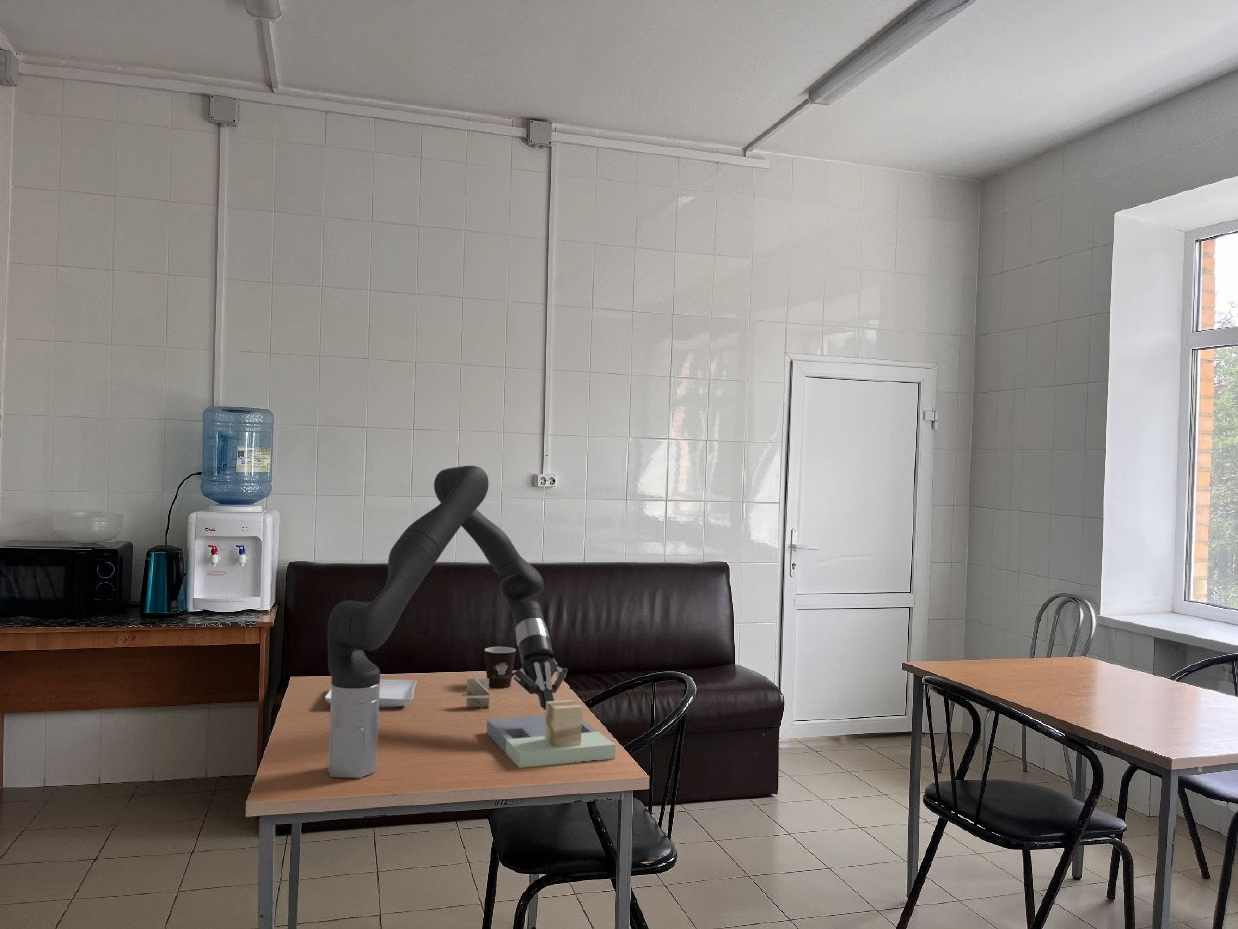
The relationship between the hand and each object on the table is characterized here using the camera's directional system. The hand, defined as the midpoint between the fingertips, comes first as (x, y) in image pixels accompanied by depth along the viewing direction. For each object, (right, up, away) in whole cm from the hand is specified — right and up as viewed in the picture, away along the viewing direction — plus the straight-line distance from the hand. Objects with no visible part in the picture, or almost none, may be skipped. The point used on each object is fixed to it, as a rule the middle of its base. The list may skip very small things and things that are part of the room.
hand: (548, 708), depth 203 cm
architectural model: (-20, -8, +29) cm, 36 cm away
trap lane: (0, -8, -1) cm, 8 cm away
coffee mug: (-16, -8, +53) cm, 56 cm away
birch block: (+4, -5, -8) cm, 10 cm away
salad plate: (-48, -7, +33) cm, 59 cm away
